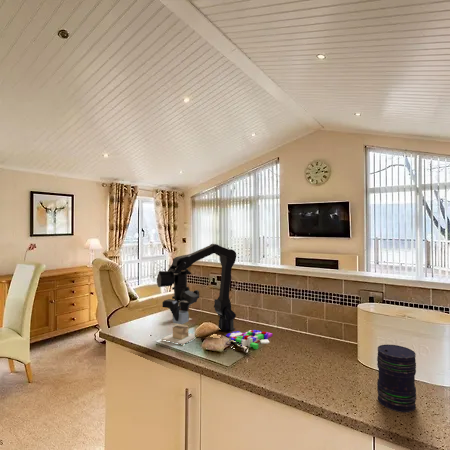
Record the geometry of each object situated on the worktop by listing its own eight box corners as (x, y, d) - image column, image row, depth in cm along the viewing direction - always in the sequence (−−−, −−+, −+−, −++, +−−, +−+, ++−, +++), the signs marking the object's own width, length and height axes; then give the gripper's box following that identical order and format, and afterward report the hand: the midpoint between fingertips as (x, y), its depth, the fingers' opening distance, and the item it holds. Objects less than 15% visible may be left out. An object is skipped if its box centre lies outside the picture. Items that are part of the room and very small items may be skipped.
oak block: (179, 334, 147) (179, 324, 147) (188, 336, 145) (188, 326, 145) (172, 337, 143) (172, 327, 143) (181, 339, 140) (181, 329, 140)
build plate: (199, 337, 146) (199, 335, 146) (183, 345, 136) (183, 343, 136) (178, 333, 152) (178, 330, 152) (161, 340, 142) (161, 338, 142)
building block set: (246, 329, 159) (246, 320, 159) (281, 339, 145) (281, 329, 145) (209, 342, 141) (209, 332, 141) (245, 355, 127) (245, 344, 127)
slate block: (188, 321, 145) (188, 311, 145) (181, 324, 141) (181, 314, 141) (179, 319, 147) (179, 310, 147) (172, 322, 143) (172, 312, 143)
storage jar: (405, 394, 96) (405, 344, 96) (423, 413, 87) (423, 358, 87) (371, 393, 97) (371, 344, 97) (385, 411, 87) (385, 357, 87)
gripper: (182, 290, 132) (182, 328, 132) (206, 283, 148) (206, 316, 148) (161, 287, 137) (161, 324, 137) (187, 281, 154) (187, 313, 154)
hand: (180, 319), depth 144 cm, fingers closed on slate block, 5 cm apart
